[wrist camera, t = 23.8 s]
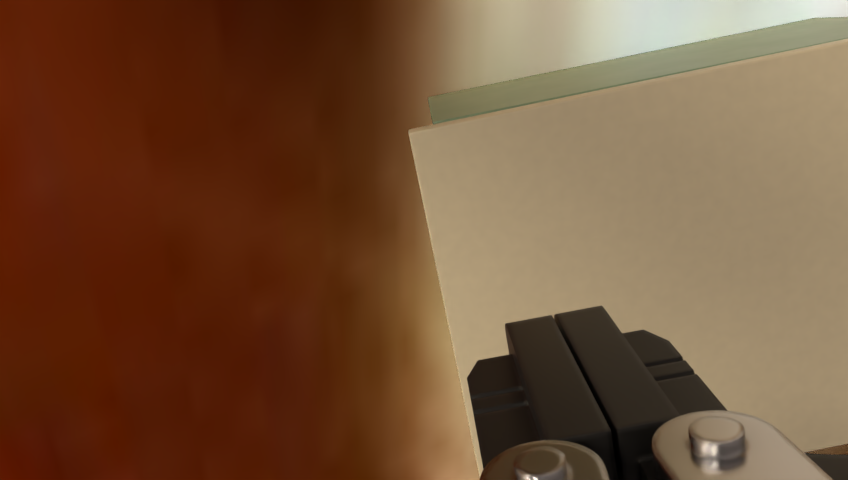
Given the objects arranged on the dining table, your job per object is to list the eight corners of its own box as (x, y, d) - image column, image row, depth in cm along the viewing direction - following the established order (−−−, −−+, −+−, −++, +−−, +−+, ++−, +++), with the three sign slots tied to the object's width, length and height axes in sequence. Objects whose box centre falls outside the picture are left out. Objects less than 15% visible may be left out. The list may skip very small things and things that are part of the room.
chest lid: (485, 503, 28) (487, 517, 27) (407, 129, 24) (408, 132, 23) (965, 406, 28) (981, 417, 27) (960, 14, 24) (979, 14, 23)
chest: (483, 382, 37) (505, 490, 28) (427, 97, 33) (432, 122, 25) (834, 316, 36) (964, 406, 28) (816, 17, 33) (959, 14, 24)
